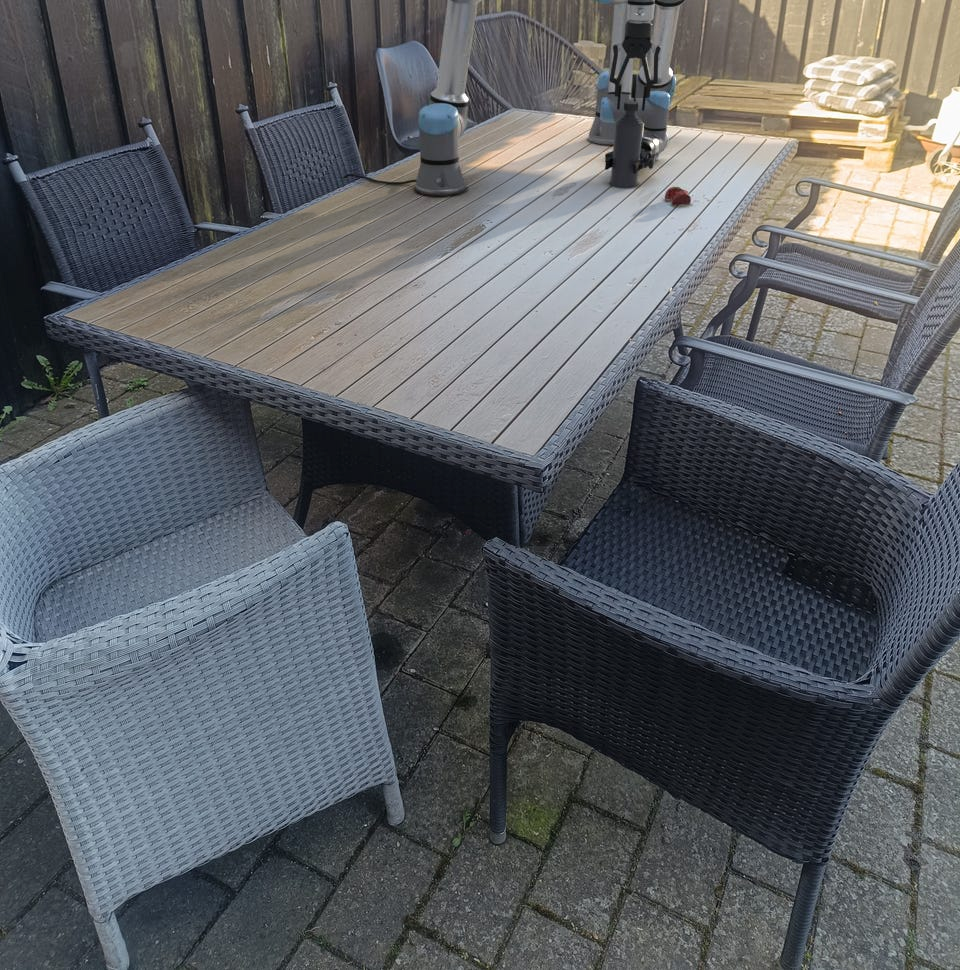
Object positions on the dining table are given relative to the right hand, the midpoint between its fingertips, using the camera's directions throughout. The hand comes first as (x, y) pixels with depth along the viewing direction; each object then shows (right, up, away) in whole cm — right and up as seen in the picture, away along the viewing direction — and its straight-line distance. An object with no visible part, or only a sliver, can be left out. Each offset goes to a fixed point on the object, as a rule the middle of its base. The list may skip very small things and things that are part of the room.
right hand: (620, 167), depth 257 cm
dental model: (+15, -14, -8) cm, 22 cm away
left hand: (+2, +15, -6) cm, 16 cm away
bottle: (+2, -3, +7) cm, 8 cm away
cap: (+2, +16, -7) cm, 18 cm away
